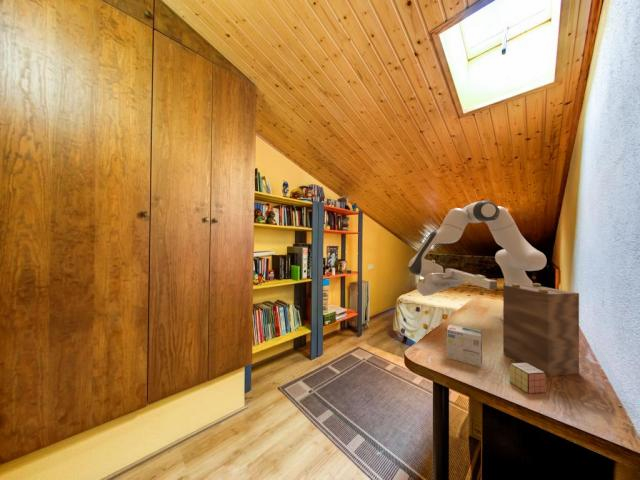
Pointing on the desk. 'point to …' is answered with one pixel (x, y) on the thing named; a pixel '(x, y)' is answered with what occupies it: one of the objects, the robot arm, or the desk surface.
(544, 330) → the plinth
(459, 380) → the desk surface
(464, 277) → the sighting bar
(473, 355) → the light bulb box
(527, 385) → the puzzle toy
